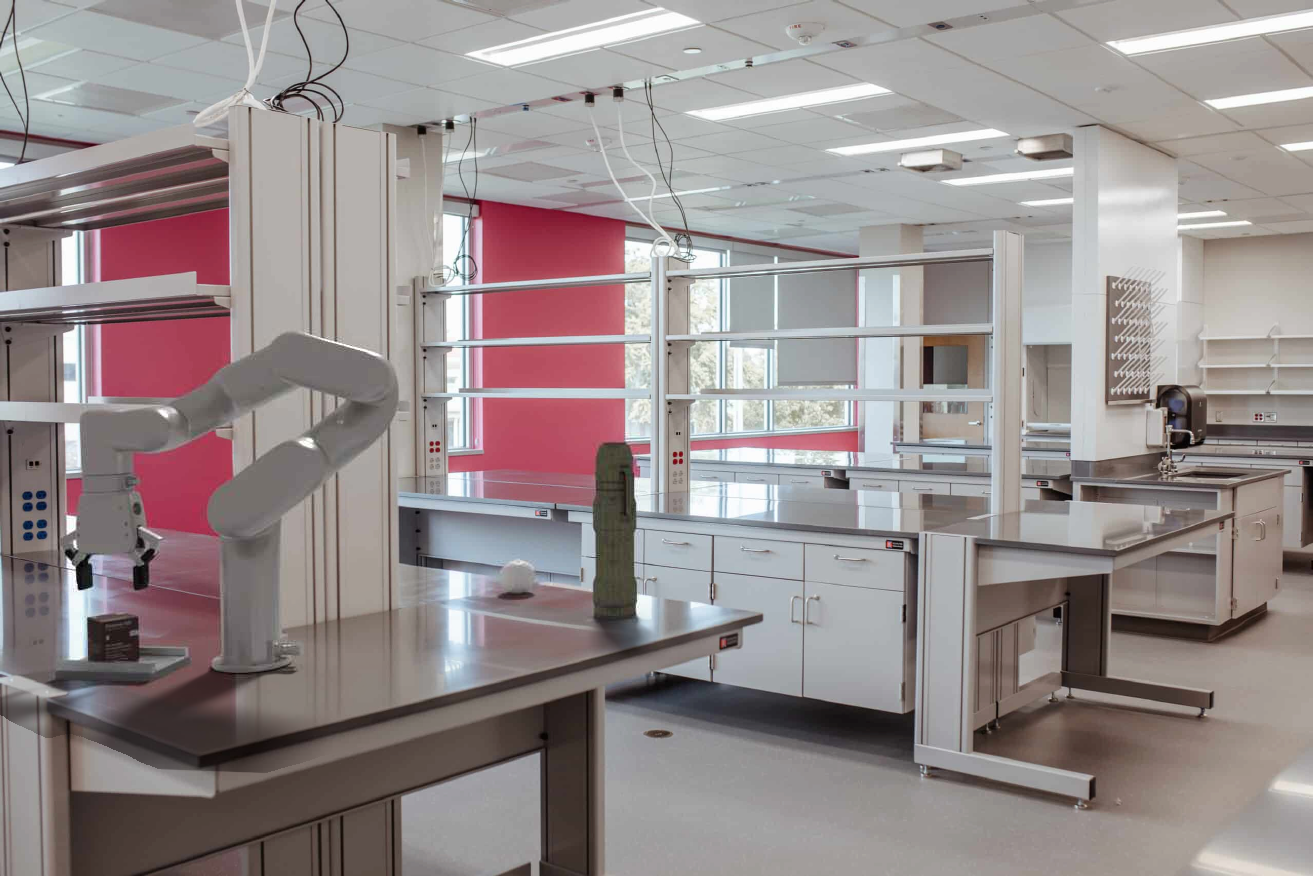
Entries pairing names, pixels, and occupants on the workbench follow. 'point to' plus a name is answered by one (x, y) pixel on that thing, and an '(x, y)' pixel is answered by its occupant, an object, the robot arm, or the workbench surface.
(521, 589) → the white ball
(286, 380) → the robot arm
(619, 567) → the thermos
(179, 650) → the panel
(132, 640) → the box
